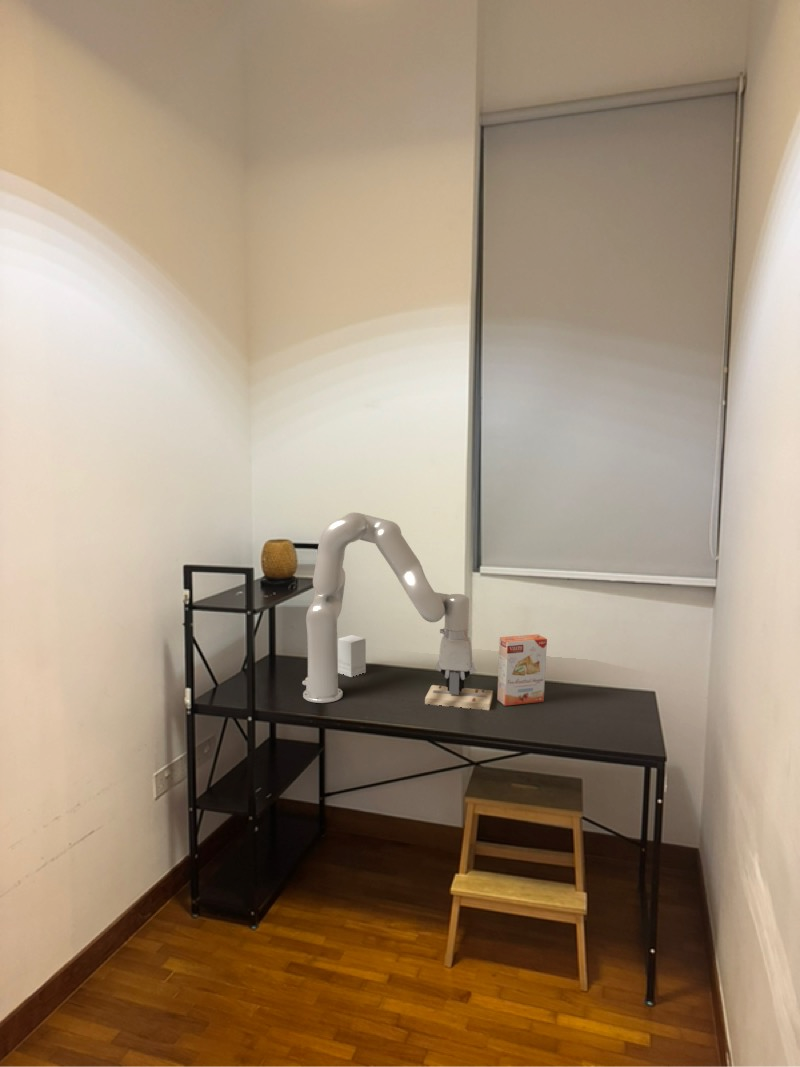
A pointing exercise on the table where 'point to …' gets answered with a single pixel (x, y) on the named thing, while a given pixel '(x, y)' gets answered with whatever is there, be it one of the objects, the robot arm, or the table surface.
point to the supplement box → (351, 655)
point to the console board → (460, 698)
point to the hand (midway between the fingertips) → (455, 689)
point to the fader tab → (454, 682)
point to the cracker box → (521, 669)
